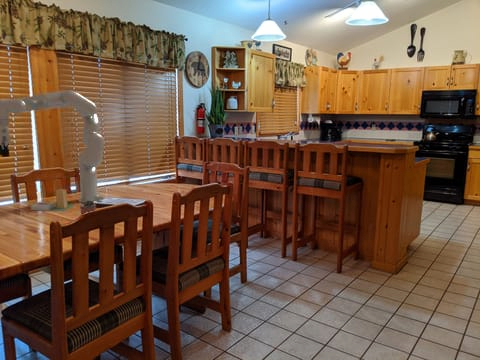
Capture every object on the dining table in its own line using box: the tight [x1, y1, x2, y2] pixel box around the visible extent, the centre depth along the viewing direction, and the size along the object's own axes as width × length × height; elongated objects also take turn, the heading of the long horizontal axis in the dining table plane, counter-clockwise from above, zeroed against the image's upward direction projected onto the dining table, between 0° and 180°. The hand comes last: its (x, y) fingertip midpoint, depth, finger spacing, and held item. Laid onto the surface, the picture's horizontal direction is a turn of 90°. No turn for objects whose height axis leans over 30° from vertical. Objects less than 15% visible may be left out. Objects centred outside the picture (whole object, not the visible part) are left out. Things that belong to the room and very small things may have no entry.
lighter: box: [79, 200, 97, 215], centre depth 190 cm, size 8×3×10 cm, turn 141°
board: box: [30, 201, 75, 212], centre depth 209 cm, size 18×14×4 cm
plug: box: [55, 188, 68, 208], centre depth 209 cm, size 5×4×10 cm
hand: (3, 155), depth 197 cm, fingers open, 9 cm apart
